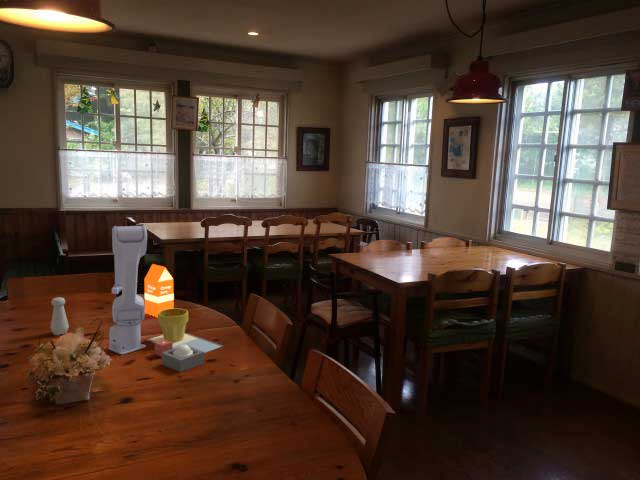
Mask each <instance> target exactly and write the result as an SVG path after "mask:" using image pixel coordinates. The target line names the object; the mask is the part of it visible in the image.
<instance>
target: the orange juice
mask: <svg viewBox="0 0 640 480" xmlns="http://www.w3.org/2000/svg"><path fill="white" fill-rule="evenodd" d="M143 280H144V306H145V315H148V314H149V315H148V316H151V315H152V317H154V316H155V317H154V318H157V319H158V313H159V312H160V311H162V310H165V309H171V308H175V307H174V305H175V303H174V300H175V294H174V278H173V276H172V275H171V273H170V272H169V271H168V269H167V268H166V267H165V266H163V265H158V264H155V263H152V264H151V265H150V268H149V270H148V272H147V274H146V275H145V277H144V279H143Z"/></svg>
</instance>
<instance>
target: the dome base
mask: <svg viewBox="0 0 640 480" xmlns="http://www.w3.org/2000/svg"><path fill="white" fill-rule="evenodd" d="M189 347H190V346H189ZM190 349H191V350H192V351H193V354H192V355H189V356H186V357H183V358H180V357H177V356H175V355H173V352H174V351H175V350H176V348H174V349H171V350H168V351H165V352H162V357H161V365H162V366H165V367H167V368H170V369H172V370H174V371H176V372H179V373H182V372H185V371H188V370H190V369H193V368H196V367H198V366H202V365H205V353H204V352H203V351H201V350H198V349H195V348H192V347H190Z"/></svg>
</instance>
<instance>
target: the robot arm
mask: <svg viewBox="0 0 640 480" xmlns="http://www.w3.org/2000/svg"><path fill="white" fill-rule="evenodd" d="M111 237H112V238H111V239H112V242H111V243H112V253H113V255H114V257H113V258H114V284H113V287H112V288H111V294H112V295H115V296H116V298H114V299H113V302H112V306H111V307H112V313H111V315H112V322H114V323H115V324H114V325H113V326H111V327H110V328H109V331H108V338H109V339H108V340H109V342H108V343H109V347H108V348H107V349H108V350H110V351H112V352H114V353H116V354H119V355H121V356H122V355H126V354H128V353H132V352H136V351H138V350H141V349H145V348H147V345H146V344H143V343H141V342H142V340H141V338H142V336H141V324H142V321H143V320H144V319H145V318H146V317H145V315H146V314H145V299H144V298H143V297H142V296H140V295H138V294H137V293H138V292H137V290H138V289H137V288H138V274H139V273H138V270H139V269H138V268H139V263H140V260H141V258H142V257H143V256H145V255H146V252H147V248H148V247H147V245H148V230H147V227H146V226H145V225H144V224H143V225H130V226H129V225H128V226H126V225H125V226H117V225H114V226H113V227H112V228H111Z"/></svg>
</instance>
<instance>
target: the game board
mask: <svg viewBox="0 0 640 480" xmlns="http://www.w3.org/2000/svg"><path fill="white" fill-rule="evenodd" d="M162 340H164V336H163V334H162V335H161V334H160V335H159V336H154V337H151V338H149V339H146V341H147V342H150V343H153V344H155V342H158V341H162ZM182 344H185V345H188V346H190V347H192V348H195V349H198V350H201V351H203V352H204V354H206V353H208V352H211V351H214V350H217V349H220V348H222V347H224V345H222V344H219V343H217V342H214V341H211V340H209V339H205V338H202V337H199V336H197V335H194V334H192V333H191V334H190V333H188V332H185V333H184V338H183V339H182V340H180V341H176V342H173V349H174V348H177V347H178V346H179V345H182Z"/></svg>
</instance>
